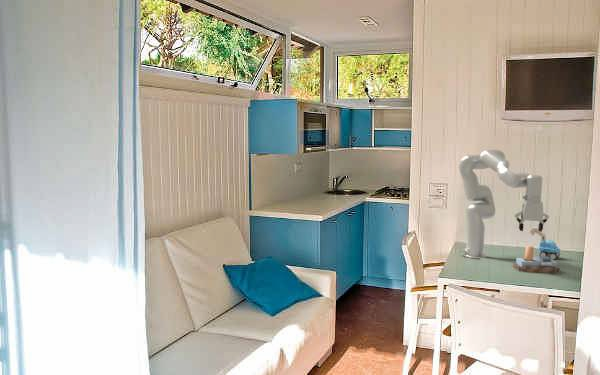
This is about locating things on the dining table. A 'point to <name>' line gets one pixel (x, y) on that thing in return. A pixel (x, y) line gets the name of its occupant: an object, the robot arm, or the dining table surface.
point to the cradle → (537, 269)
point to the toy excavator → (546, 245)
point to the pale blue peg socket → (536, 262)
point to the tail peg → (529, 253)
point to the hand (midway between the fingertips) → (530, 230)
